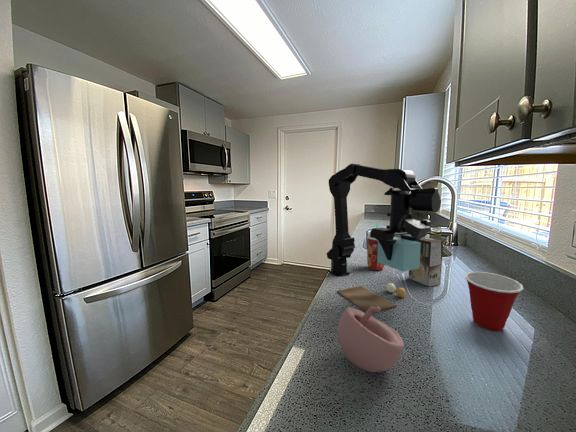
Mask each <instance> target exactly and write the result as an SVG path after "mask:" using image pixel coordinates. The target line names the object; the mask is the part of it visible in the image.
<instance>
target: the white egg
mask: <svg viewBox="0 0 576 432" xmlns="http://www.w3.org/2000/svg"><path fill="white" fill-rule="evenodd" d="M396 287H397V286H396V285H395V284H394V283H392V282H388V283H386V285H385V289H386V291H387V293H394V292H396V290H397V288H396Z"/></svg>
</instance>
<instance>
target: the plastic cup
mask: <svg viewBox="0 0 576 432" xmlns="http://www.w3.org/2000/svg"><path fill="white" fill-rule="evenodd" d="M464 278H465V279H466V282H467V286H468V290H469V300H470V308H471V313H472V320H473V323H474V324H475V325H476V326H479V327H481V328H482V329H484V330H489V331H491V332H492V331H493V332H494V331H495V332H501V331H503V330H504V328H505V326H506V324H507V321H508V319H509V317H510V315H511V311H512V308H513V306H514V304H515V302H516V299H517V297H518V295H519V293H521V292H522V291H523V290H524V286H523V284H522V283H520V282H519V281H518V280H515V279H513V278H510V277H508V276H505V275H501V274H498V273H491V272H487V271H469V272H467V273H465V276H464Z"/></svg>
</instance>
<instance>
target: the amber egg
mask: <svg viewBox="0 0 576 432" xmlns="http://www.w3.org/2000/svg"><path fill="white" fill-rule="evenodd" d="M395 294H396V296H397V297H399V298H404V297H406V296H407V291H406V289H405V288H403V287H398V288H396V290H395Z"/></svg>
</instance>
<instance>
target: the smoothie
mask: <svg viewBox="0 0 576 432" xmlns="http://www.w3.org/2000/svg"><path fill="white" fill-rule="evenodd" d="M376 228H379V222H376ZM370 232H371V230H370ZM370 232H368V234H367V236H366V250H367V252H366V253H367V254H366V255H367V261H366V262H367V266H368V269H369V268H370V269H369V270H371V269H372V271H376V270H379V271H383V270H384V268H385V265H384V264H381V263H379V262H377V258H378V240H377V239H376V238H372V237H370Z"/></svg>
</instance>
